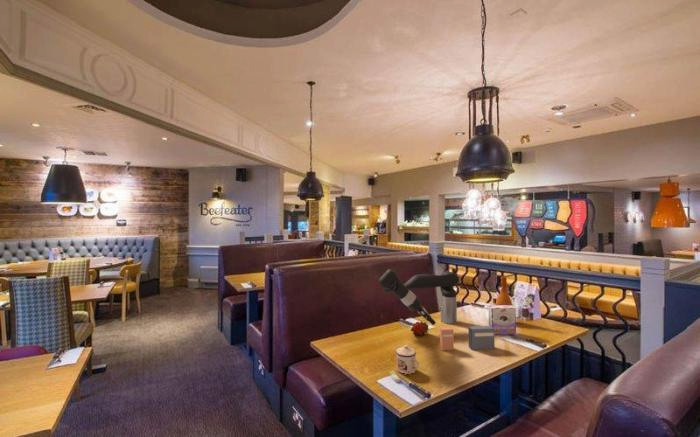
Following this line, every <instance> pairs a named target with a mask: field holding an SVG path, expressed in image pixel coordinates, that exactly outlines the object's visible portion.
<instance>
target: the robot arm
mask: <svg viewBox="0 0 700 437" xmlns="http://www.w3.org/2000/svg"><path fill="white" fill-rule="evenodd" d="M459 282H460V277H459V275H457V273H455V272H453V271H449V270H444V271H442V272H441V274H440V275H439V274H438V275H437V274H430V273H423V274H415V275H413V276H412V277H411V278H410V279H408V280H407V281H406V282H405V283H403V282H402V281H401V279H400V277H399V275H398V274H397V272H396V271H395V270H394V269H391V268H389V269H387V270H386V271H385V272H384V273H383V274H382V276H380V277H379V279H378V284H379V285H380V287H381V288H383V291H384V293H387V294H390V293H392V294H394V295H395V296H396V297H397V298H398V299H399V300H400V301H401V302H402V303H403V304H404V305H405V306H406V307H407V308H408V309H409V310H410V311H411V312H415V311H416V312H417V314H419V315H420V316H421V317H422V319H423V318H424V319H425V320H426V321H427V322H429V323H430V324H431V325H432V326H434V325H436V323H437V322H436V321H435V320H434V319H433V318H432V315H431V314H430V313H429V312H428V311H427V310H426V308H425V307H424V306H422V304H423V303H422V300H421V299H420V298H419V297H418V296H417V295H416V294H415V293H414V292H413V291H414V290H426V289H433V288H439V287H440V293H441V307H440V321H441V322H442V323H445V324H447V325H448V324H449V325H454V324H457V323H458V320H457V319H458V318H457V317H458V315H457V304H458V303H457V291H456V290H455V288H454V287H455V286H457V285H458V284H459Z"/></svg>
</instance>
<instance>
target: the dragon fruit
mask: <svg viewBox="0 0 700 437" xmlns="http://www.w3.org/2000/svg"><path fill="white" fill-rule="evenodd" d="M410 332H412V334H413V335H415V336H419V335H420V337H422V336H424V335H425V334H427V333H429V324H428V323H427V322H423V321H422V320H420V321H416V322H414V323H413V324H412V327H411V329H410Z"/></svg>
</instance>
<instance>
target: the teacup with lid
mask: <svg viewBox="0 0 700 437" xmlns="http://www.w3.org/2000/svg"><path fill="white" fill-rule="evenodd" d="M395 353H396V370H398V371H399V372H401V373H405V374H404V375H406V374H409V375H412V374H411V373H413V374H415V373H416V370H418V369H419V367H420V363H419V361H418V359H417V358H416V353H417V352H416V350H415V349H414V348H412V347H409V345H407V344H405V345H403V346H401V347H398V348H397V349H396V350H395ZM398 371H397V372H398ZM399 372H398V373H399ZM401 373H400V374H401Z"/></svg>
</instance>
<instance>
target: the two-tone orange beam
mask: <svg viewBox="0 0 700 437" xmlns="http://www.w3.org/2000/svg"><path fill="white" fill-rule="evenodd" d="M454 346H455V345H454V328H453V327H452V326H439V348H440V349H441V350H442V351H454V348H455V347H454Z"/></svg>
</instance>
